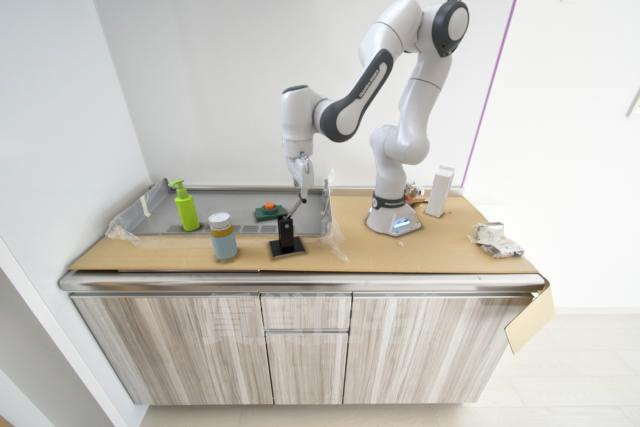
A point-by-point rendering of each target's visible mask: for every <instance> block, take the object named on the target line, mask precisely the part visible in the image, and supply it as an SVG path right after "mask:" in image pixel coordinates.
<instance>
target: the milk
mask: <svg viewBox="0 0 640 427" xmlns="http://www.w3.org/2000/svg"><path fill="white" fill-rule="evenodd" d="M454 177H455V167H450V166H446V165H438V169H437V170H436V172H435V174H434V177H433V182H432V185H431V189H430V194H429V198H428V203H427V205H426V209H425V214H426V215H429V216H432V217H436V218H440V217H441V216H442V215H443V214H444V210H445V207H446V204H447V201H448V198H449V194H450V190H451V188H452V184H453V181H454Z"/></svg>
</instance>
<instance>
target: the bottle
mask: <svg viewBox="0 0 640 427" xmlns="http://www.w3.org/2000/svg"><path fill="white" fill-rule="evenodd" d="M208 222H209V227H210V230H209V232H210V237H211V242H212V246H213V250H214V255H215V258H216V259H218V260H219V261H227V260H232V259H233V258H235V257H236V256H237V255H238V252H239V251H238V250H239V249H238V245H237V244H238V243H237V239H236V233H235V228H234V226H233V225H232V220H231V215H230V214H229V213H228V212H217V213H213V214H212V215H210V216H209V217H208Z"/></svg>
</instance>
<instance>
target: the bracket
mask: <svg viewBox="0 0 640 427" xmlns="http://www.w3.org/2000/svg"><path fill="white" fill-rule="evenodd" d="M289 213H290V212H285V214H278V215H277V219H276V220H277V233H278V239H275V240H270V241H268V243H269V246H270V251H271V255H272V257H279V256H285V255H289V254H294V253H295V254H296V253H301V252H305V251H306V249H305V247H304V245H303V243H302V241H301V239H300V236H294V235H295V234H294V232H295V231H294V219H293V218H292V217H291V218H290V219H285V220H281V219H282V218H283V216H286V217H287V215H288V214H289Z"/></svg>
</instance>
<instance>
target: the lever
mask: <svg viewBox="0 0 640 427" xmlns="http://www.w3.org/2000/svg"><path fill="white" fill-rule="evenodd" d="M298 198H299V199H298V200H297V202H296V203H295V204H294V206H293V207H292V209H291V210H290V211H289V212H288V213H289V214H288V215H287V217H286V216H283V218H282V219H281V220H285V219H290V218H291V219H292V218H293V216H294V214H295V213H296V212H297V210H298V209H299V207H300V206H301V205H302V204H304V205H306V204H307V202H308V200H307V198H304V199H303V198H302V197H301V192H299V194H298Z"/></svg>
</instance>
